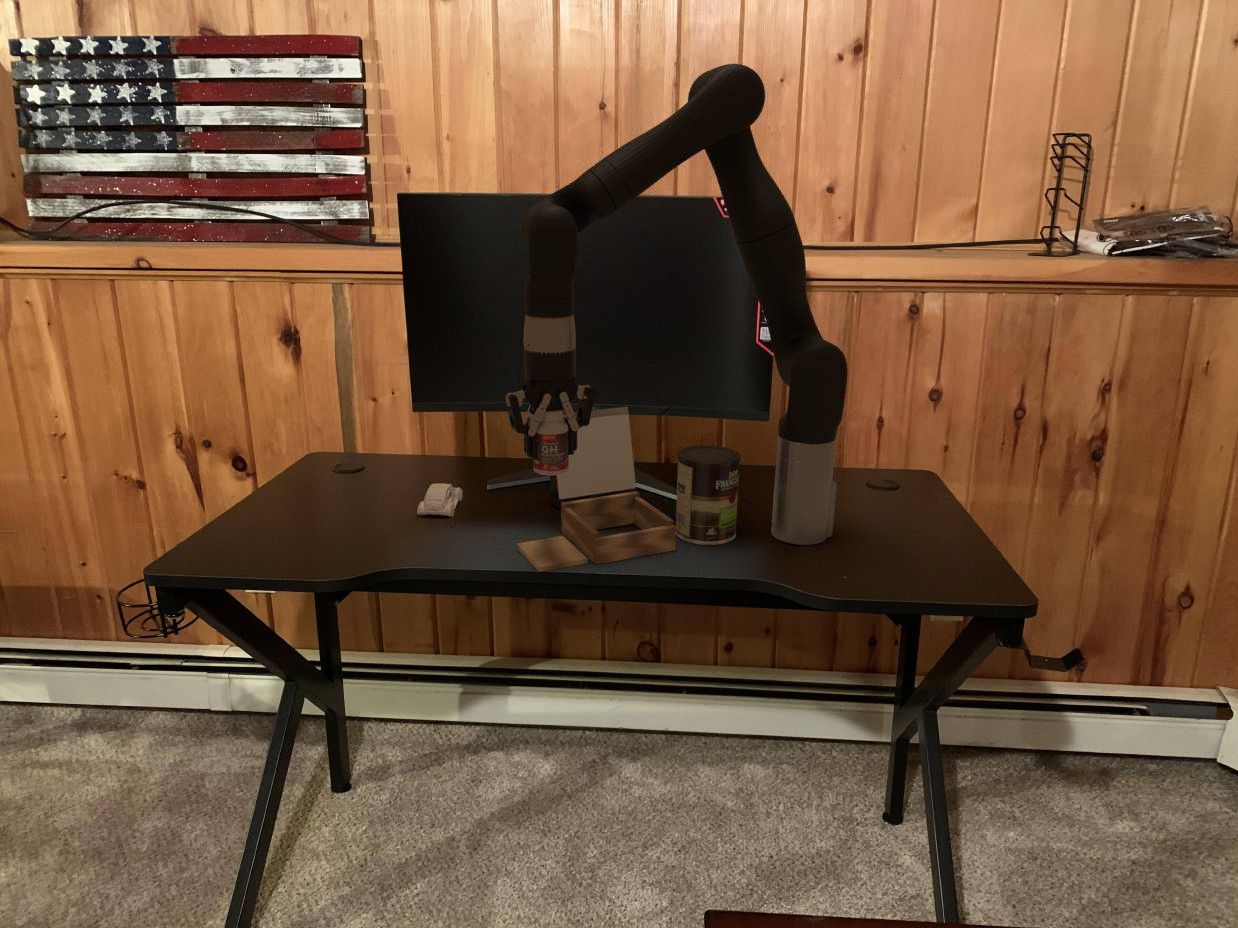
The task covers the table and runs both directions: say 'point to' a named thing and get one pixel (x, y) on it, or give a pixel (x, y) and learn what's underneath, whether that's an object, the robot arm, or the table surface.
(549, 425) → the pill bottle
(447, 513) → the car
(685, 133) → the robot arm
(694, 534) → the coffee can
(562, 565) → the flat wooden board
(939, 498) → the table surface
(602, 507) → the open wooden box
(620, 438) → the lid
